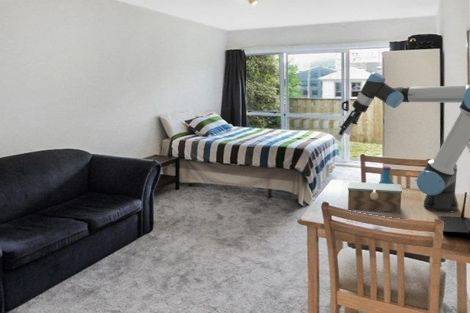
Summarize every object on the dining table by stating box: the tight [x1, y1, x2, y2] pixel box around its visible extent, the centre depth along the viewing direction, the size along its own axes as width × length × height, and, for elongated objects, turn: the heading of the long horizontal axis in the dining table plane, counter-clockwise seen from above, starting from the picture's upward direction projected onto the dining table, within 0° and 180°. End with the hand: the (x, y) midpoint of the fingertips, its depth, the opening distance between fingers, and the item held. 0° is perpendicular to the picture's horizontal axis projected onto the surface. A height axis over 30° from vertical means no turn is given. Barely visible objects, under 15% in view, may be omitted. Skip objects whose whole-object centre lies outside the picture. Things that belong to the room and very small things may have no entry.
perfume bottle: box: [378, 165, 395, 184], centre depth 223 cm, size 9×9×15 cm
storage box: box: [347, 189, 402, 214], centre depth 200 cm, size 24×12×10 cm, turn 71°
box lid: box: [347, 181, 403, 200], centre depth 194 cm, size 25×23×4 cm
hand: (342, 136), depth 213 cm, fingers open, 13 cm apart
